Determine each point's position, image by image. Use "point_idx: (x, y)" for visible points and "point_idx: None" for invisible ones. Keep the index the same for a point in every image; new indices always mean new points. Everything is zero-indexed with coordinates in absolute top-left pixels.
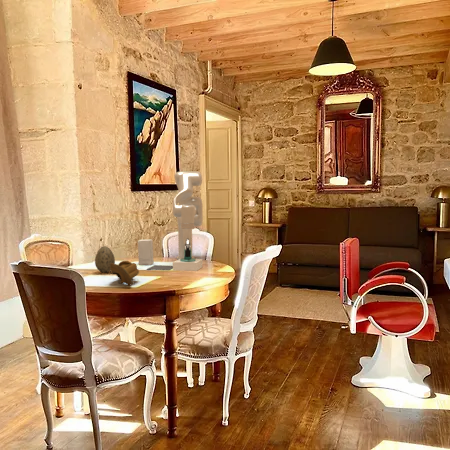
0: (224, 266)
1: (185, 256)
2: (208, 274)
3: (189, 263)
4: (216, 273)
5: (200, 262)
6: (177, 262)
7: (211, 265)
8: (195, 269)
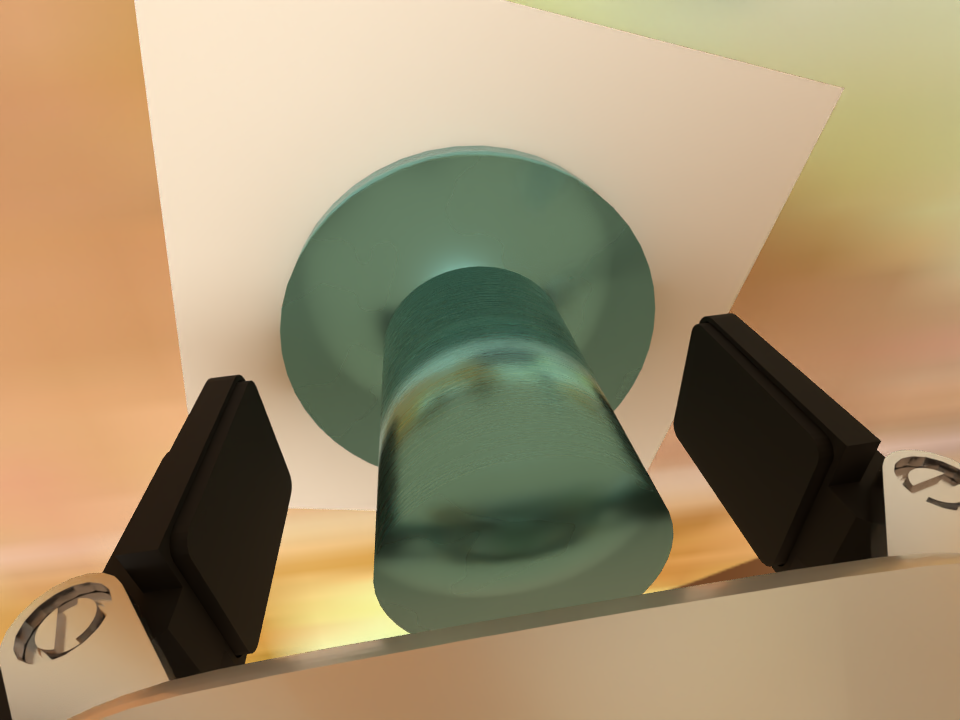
0: None
1: (215, 388)
2: (64, 543)
3: (191, 385)
4: None
5: None
6: (150, 91)
7: (712, 492)
8: None
